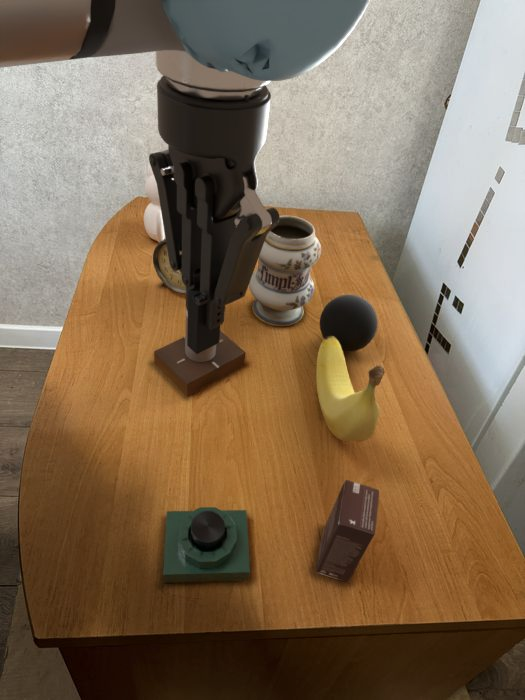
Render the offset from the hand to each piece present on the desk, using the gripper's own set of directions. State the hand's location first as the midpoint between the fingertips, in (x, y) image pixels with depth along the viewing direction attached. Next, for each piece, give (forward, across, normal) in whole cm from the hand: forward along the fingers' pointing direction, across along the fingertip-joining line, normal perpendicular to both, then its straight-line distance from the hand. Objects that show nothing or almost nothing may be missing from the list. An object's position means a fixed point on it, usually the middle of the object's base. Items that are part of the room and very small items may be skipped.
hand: (203, 344), depth 51 cm
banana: (+29, -1, -26) cm, 39 cm away
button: (+25, -6, +3) cm, 26 cm away
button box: (+28, -6, +3) cm, 29 cm away
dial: (+25, +20, -16) cm, 36 cm away
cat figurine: (+29, +56, -34) cm, 71 cm away
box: (+29, -17, -9) cm, 34 cm away
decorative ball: (+29, +9, -40) cm, 50 cm away
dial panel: (+28, +20, -16) cm, 38 cm away
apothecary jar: (+29, +23, -37) cm, 52 cm away
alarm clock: (+29, +38, -26) cm, 54 cm away
